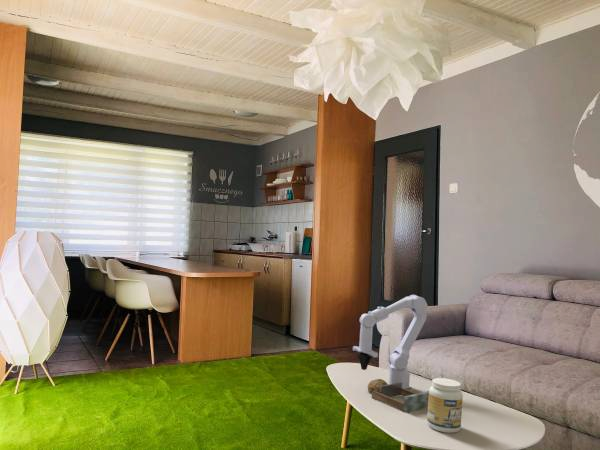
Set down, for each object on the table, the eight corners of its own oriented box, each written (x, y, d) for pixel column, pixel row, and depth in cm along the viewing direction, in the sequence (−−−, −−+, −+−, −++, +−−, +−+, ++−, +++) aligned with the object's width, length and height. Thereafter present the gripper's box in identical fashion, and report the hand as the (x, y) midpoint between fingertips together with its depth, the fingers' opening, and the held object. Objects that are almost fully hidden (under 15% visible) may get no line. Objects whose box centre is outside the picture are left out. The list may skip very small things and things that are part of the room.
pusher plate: (399, 394, 217) (400, 382, 217) (401, 395, 216) (402, 382, 216) (379, 398, 209) (379, 386, 209) (380, 399, 208) (381, 386, 209)
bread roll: (365, 400, 218) (363, 386, 215) (372, 385, 226) (371, 371, 223) (386, 405, 213) (385, 390, 210) (393, 390, 222) (392, 375, 219)
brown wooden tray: (397, 392, 220) (398, 379, 220) (432, 406, 205) (432, 391, 205) (371, 398, 210) (372, 384, 211) (406, 412, 195) (407, 397, 195)
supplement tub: (446, 436, 174) (449, 388, 174) (420, 424, 183) (422, 379, 184) (467, 430, 181) (470, 384, 181) (440, 419, 191) (443, 375, 191)
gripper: (348, 337, 230) (347, 366, 230) (370, 344, 219) (368, 374, 218) (359, 336, 234) (357, 364, 234) (381, 342, 223) (379, 372, 223)
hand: (363, 369), depth 226 cm, fingers closed
